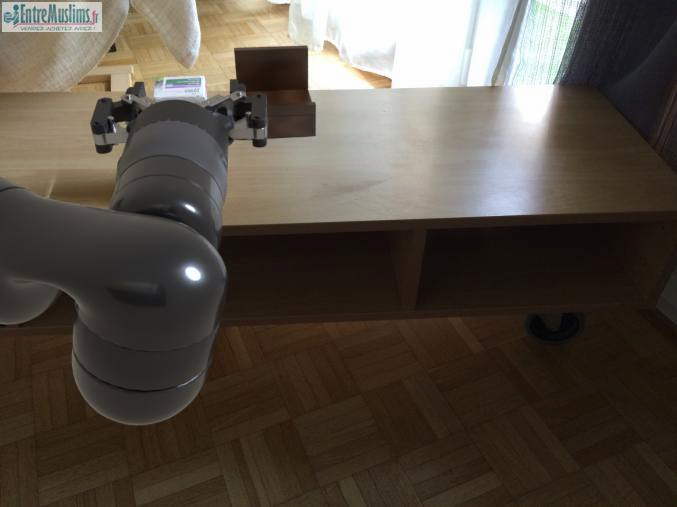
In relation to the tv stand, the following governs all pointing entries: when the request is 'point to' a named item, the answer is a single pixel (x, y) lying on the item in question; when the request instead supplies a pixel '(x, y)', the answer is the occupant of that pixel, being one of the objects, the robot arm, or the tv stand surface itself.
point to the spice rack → (279, 87)
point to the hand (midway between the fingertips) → (188, 90)
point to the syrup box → (180, 88)
